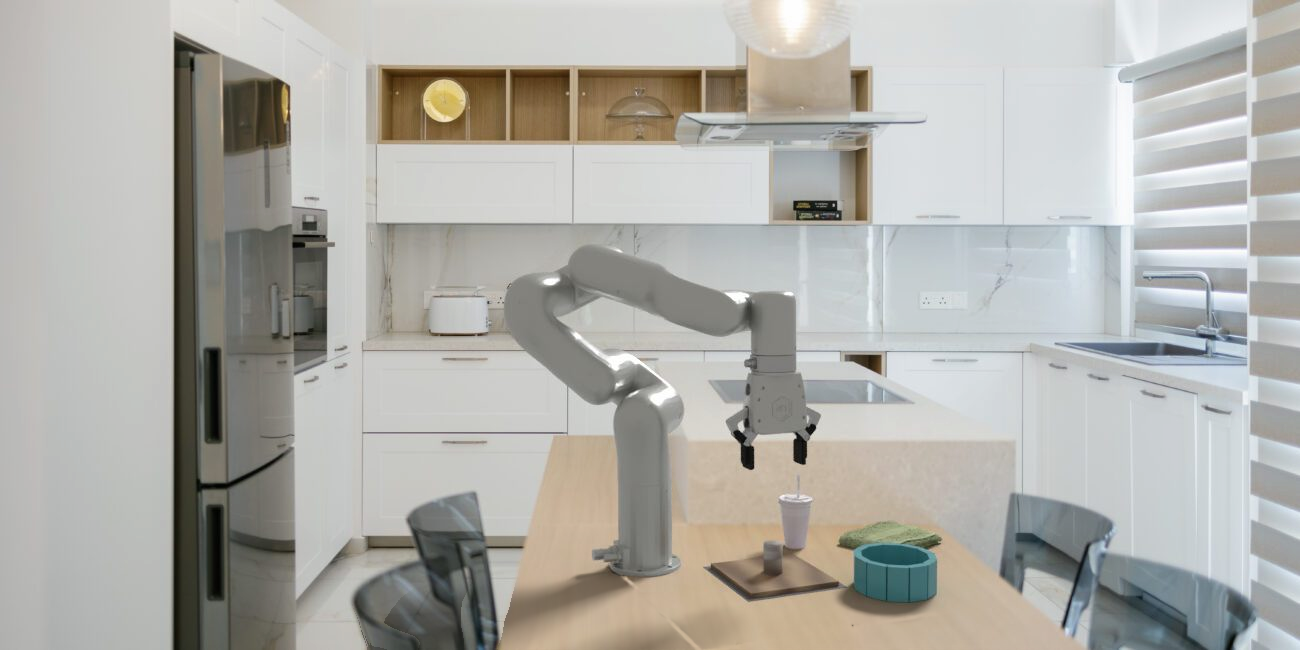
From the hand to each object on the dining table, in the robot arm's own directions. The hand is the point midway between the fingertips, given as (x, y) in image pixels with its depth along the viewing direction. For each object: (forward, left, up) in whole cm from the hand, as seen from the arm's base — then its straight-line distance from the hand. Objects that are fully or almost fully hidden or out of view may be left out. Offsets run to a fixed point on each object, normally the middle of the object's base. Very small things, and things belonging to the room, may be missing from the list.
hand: (774, 465), depth 159 cm
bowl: (+16, -12, -20) cm, 28 cm away
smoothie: (+12, +14, -20) cm, 27 cm away
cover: (0, 0, -19) cm, 19 cm away
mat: (0, 0, -20) cm, 20 cm away
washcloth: (+30, +10, -20) cm, 37 cm away
